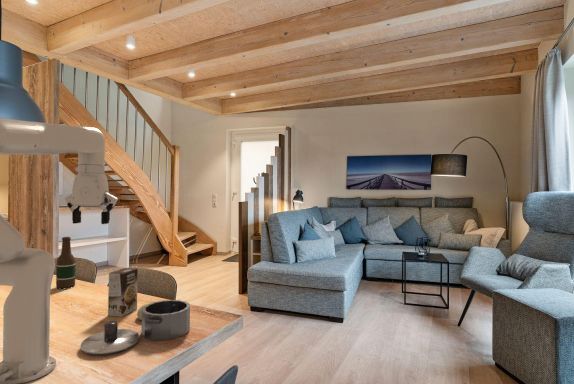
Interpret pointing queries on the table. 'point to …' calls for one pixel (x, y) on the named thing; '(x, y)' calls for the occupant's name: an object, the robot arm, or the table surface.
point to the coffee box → (122, 292)
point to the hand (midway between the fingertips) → (90, 223)
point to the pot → (165, 320)
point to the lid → (109, 340)
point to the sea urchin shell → (140, 312)
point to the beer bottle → (65, 266)
